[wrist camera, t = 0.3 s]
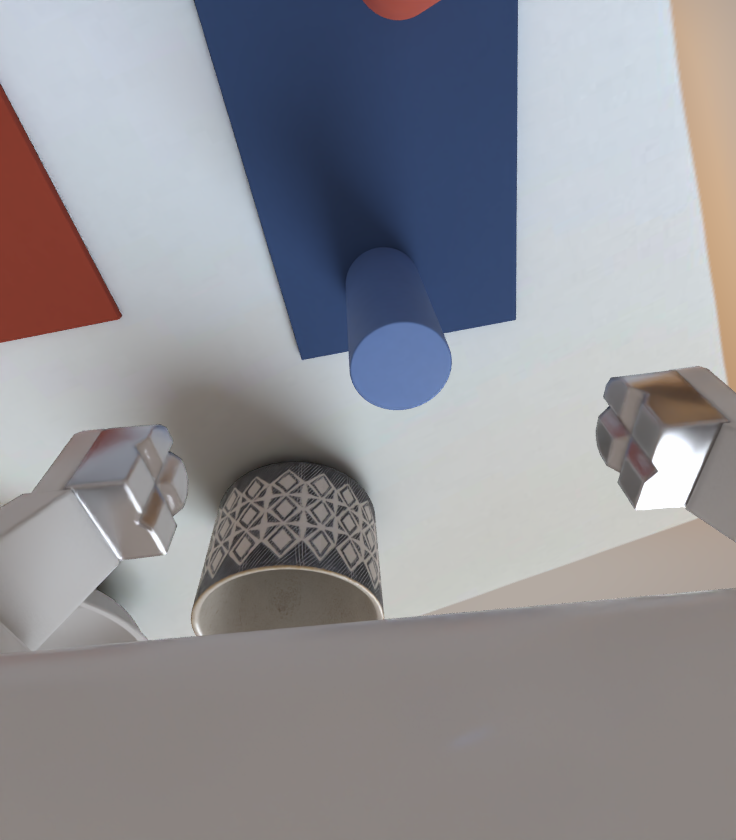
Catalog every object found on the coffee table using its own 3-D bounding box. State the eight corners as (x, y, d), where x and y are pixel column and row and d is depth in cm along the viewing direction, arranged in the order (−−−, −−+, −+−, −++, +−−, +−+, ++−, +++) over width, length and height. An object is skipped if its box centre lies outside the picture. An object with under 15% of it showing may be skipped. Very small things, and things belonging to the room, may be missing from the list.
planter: (188, 497, 39) (147, 616, 30) (315, 425, 35) (309, 538, 27) (286, 574, 45) (275, 689, 37) (401, 521, 42) (418, 634, 33)
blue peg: (338, 255, 27) (340, 332, 19) (414, 239, 27) (447, 311, 19) (353, 324, 30) (360, 418, 22) (422, 311, 30) (455, 401, 22)
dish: (-59, 578, 43) (-100, 631, 39) (36, 508, 38) (1, 559, 34) (109, 654, 52) (90, 703, 48) (202, 604, 47) (190, 654, 43)
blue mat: (156, -131, 19) (152, -136, 18) (515, -224, 18) (519, -230, 17) (302, 356, 32) (301, 360, 31) (513, 316, 31) (516, 320, 30)
